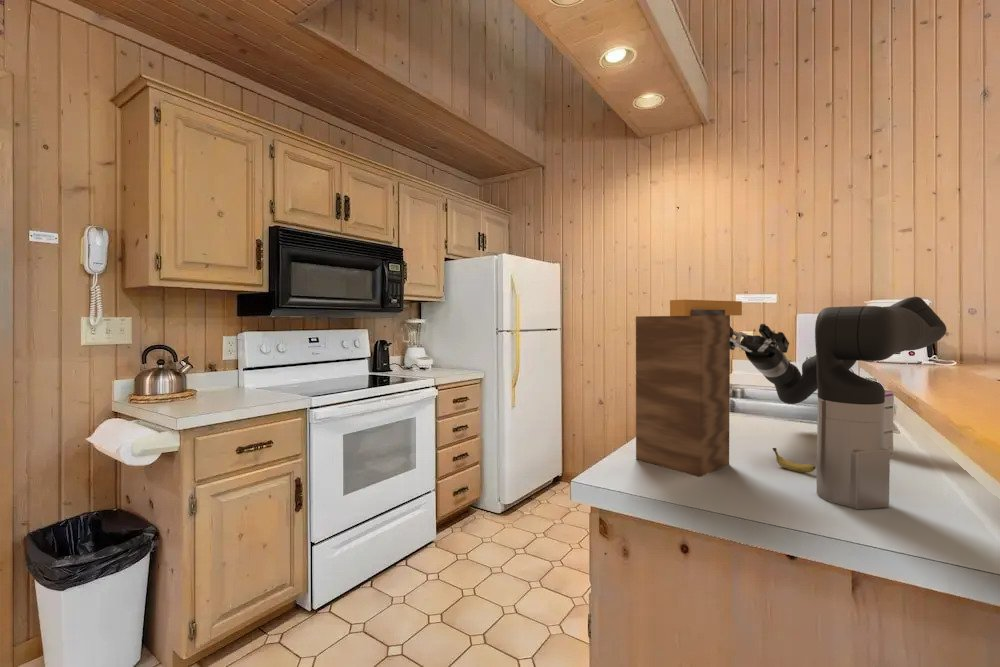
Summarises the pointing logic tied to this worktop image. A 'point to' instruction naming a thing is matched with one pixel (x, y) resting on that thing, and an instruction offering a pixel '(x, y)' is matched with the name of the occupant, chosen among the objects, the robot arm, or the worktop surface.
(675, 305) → the orange-brown bar
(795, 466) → the banana
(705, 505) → the worktop surface
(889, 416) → the syrup box
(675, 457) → the walnut stand
